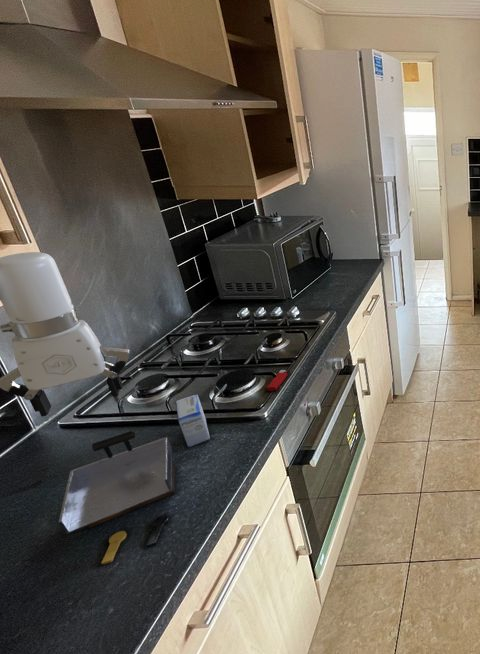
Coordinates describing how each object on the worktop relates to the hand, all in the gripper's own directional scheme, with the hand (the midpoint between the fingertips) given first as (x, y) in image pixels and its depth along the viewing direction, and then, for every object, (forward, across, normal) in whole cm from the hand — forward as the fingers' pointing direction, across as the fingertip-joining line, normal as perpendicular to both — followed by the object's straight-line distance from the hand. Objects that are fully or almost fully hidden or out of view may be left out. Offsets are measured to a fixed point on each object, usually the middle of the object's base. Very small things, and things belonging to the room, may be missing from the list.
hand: (83, 401), depth 79 cm
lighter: (+22, +33, +20) cm, 44 cm away
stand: (+22, +2, -4) cm, 23 cm away
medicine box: (+22, +13, +9) cm, 27 cm away
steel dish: (+17, +2, -7) cm, 19 cm away
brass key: (+22, 0, -16) cm, 27 cm away
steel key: (+22, +7, -16) cm, 28 cm away
